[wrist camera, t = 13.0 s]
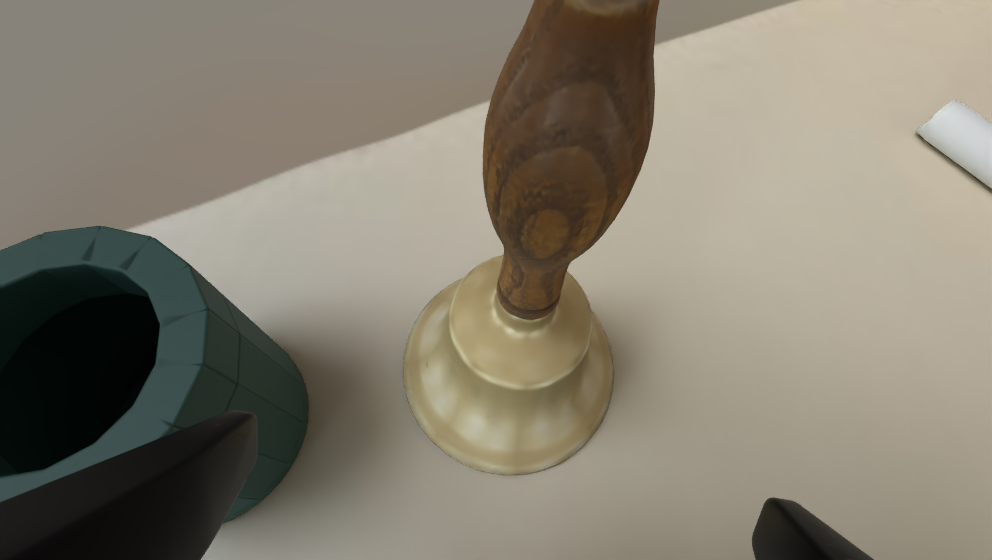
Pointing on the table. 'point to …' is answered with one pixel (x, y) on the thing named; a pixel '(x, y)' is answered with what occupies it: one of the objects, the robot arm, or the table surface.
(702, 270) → the table surface
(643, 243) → the table surface
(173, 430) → the jar
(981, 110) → the table surface
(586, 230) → the hand bell
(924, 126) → the white cylindrical rod
